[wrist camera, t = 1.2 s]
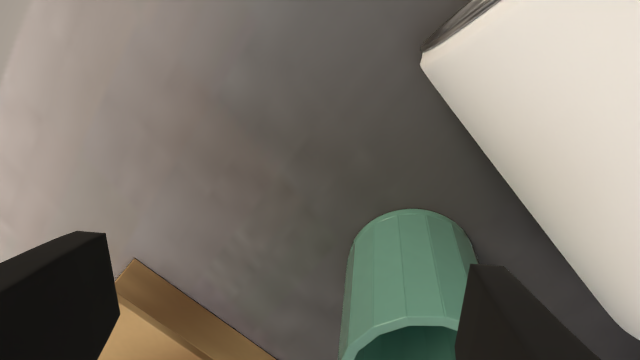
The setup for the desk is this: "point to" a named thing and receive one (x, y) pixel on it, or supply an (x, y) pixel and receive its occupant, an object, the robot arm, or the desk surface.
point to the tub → (405, 288)
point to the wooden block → (169, 324)
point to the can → (557, 124)
